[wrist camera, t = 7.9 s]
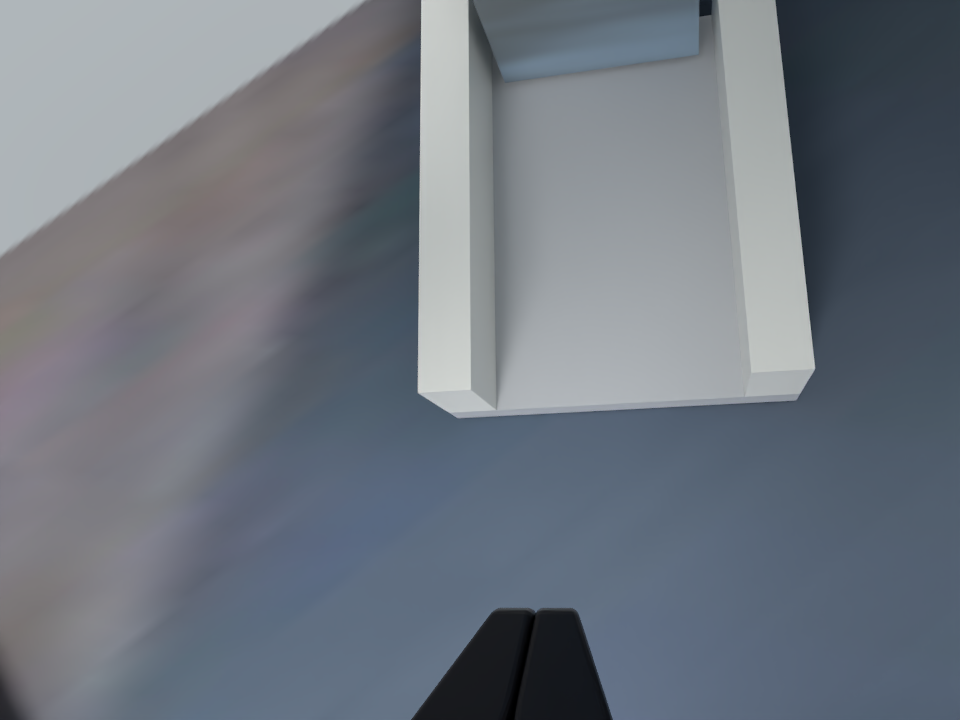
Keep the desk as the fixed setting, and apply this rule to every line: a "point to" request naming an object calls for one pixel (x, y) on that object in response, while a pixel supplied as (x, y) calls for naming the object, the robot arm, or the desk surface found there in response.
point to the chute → (609, 226)
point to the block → (586, 34)
